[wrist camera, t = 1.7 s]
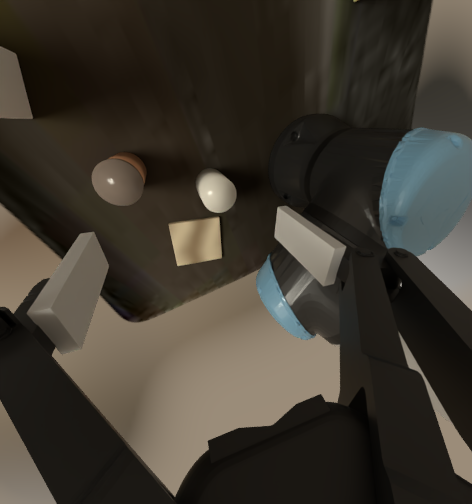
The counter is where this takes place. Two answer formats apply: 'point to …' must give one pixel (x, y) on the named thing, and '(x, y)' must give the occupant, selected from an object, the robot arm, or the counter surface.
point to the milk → (12, 88)
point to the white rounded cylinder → (215, 190)
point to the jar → (120, 179)
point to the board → (196, 240)
